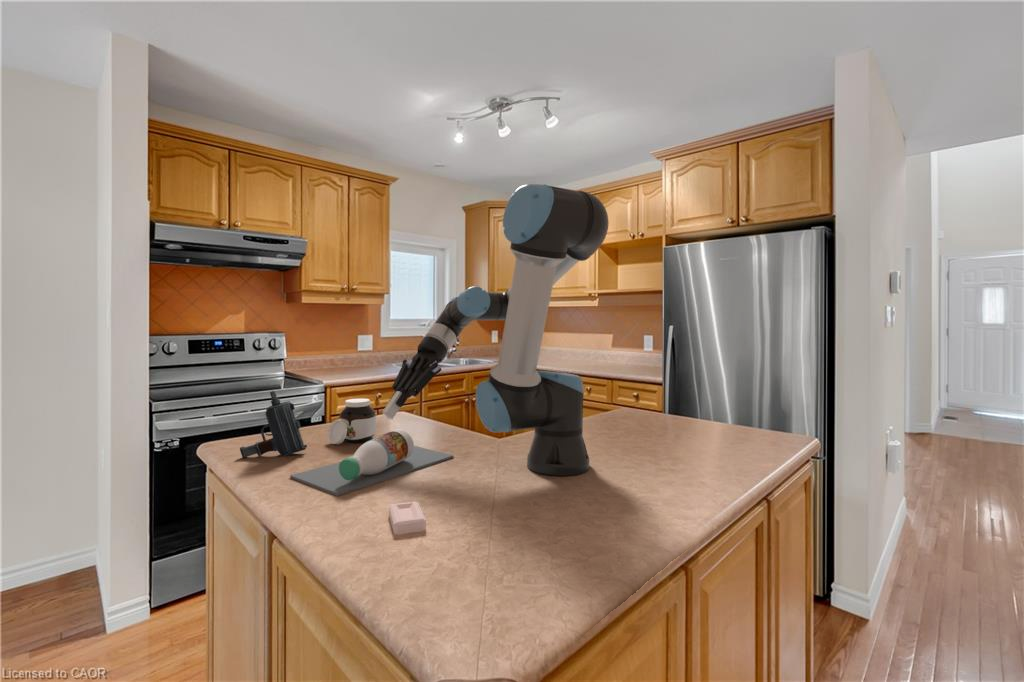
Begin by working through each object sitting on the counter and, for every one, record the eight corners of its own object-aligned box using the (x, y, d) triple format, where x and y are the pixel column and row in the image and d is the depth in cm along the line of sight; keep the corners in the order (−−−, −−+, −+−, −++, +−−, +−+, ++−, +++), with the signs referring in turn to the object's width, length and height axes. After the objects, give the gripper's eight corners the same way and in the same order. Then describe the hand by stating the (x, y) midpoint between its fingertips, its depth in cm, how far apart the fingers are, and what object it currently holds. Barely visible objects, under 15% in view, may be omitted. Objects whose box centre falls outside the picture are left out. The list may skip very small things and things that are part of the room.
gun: (227, 403, 127) (288, 386, 130) (248, 465, 129) (307, 446, 132) (224, 405, 124) (287, 388, 128) (245, 468, 126) (306, 449, 130)
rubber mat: (406, 445, 139) (406, 443, 139) (453, 457, 128) (453, 455, 128) (290, 477, 112) (290, 475, 112) (337, 496, 101) (337, 493, 101)
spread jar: (380, 437, 148) (379, 398, 148) (362, 447, 137) (361, 405, 137) (342, 435, 151) (342, 397, 150) (322, 445, 139) (321, 404, 139)
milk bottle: (410, 463, 124) (356, 494, 105) (385, 450, 126) (328, 478, 108) (418, 436, 122) (364, 462, 104) (392, 423, 125) (336, 446, 106)
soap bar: (417, 512, 94) (417, 499, 94) (426, 532, 86) (426, 519, 86) (388, 516, 92) (388, 503, 92) (394, 537, 84) (394, 523, 84)
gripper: (460, 354, 133) (413, 428, 120) (426, 352, 140) (379, 420, 128) (446, 335, 128) (396, 409, 116) (412, 334, 136) (361, 403, 124)
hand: (387, 415), depth 122 cm, fingers closed
